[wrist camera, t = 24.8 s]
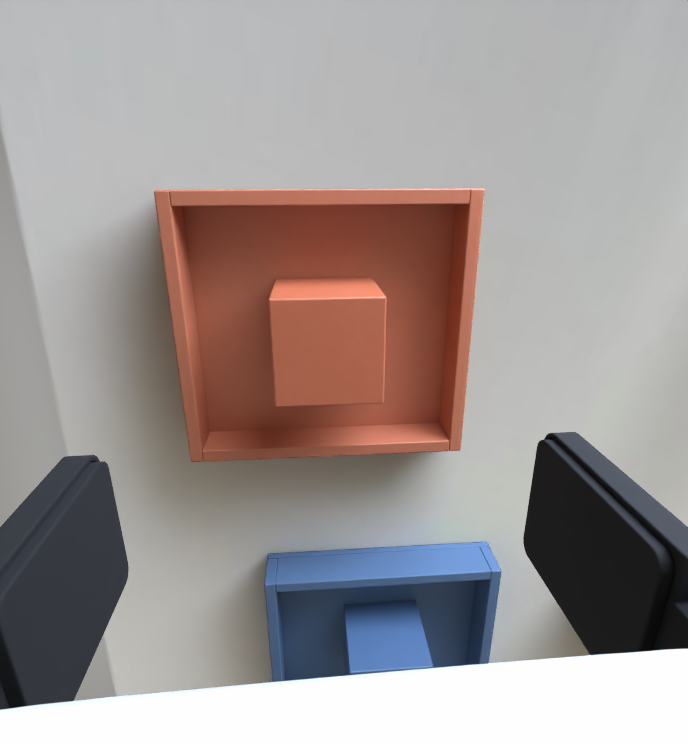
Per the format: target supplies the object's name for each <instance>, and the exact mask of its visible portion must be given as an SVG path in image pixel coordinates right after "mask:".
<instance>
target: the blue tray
mask: <svg viewBox="0 0 688 744" xmlns="http://www.w3.org/2000/svg"><path fill="white" fill-rule="evenodd" d="M500 578H501V569H500V567H499V565H498V563H497V561H496V559H495V557H494V555H493V553H492V551H491V549H490V547H489V545H488V543H487V542H474V543H456V544H438V545H420V546H402V547H384V548H366V549H348V550H330V551H312V552H294V553H276V554H268V556H267V566H266V575H265V584H264V586H265V598H266V610H267V622H268V634H269V646H270V658H271V670H272V682H279V681H291V680H302V679H313V678H325V677H336V676H346V675H345V663H344V605H345V604H359V603H375V602H391V601H407V600H416V603H417V607H418V610H419V614H420V618H421V622H422V626H423V629H424V633H425V637H426V641H427V644H428V648H429V652H430V656H431V659H432V663H433V668H440V667H451V666H463V665H475V664H488V662H489V655H490V648H491V641H492V634H493V627H494V620H495V613H496V606H497V599H498V592H499V585H500Z"/></svg>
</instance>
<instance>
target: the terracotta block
mask: <svg viewBox="0 0 688 744" xmlns="http://www.w3.org/2000/svg"><path fill="white" fill-rule="evenodd" d="M386 301H387V298H386V296H385V295H384V294H383V292H382V291H381V289H380V288H379V287H378V285H377V284H376V283H375V281H374V280H373V279H372V277H339V278H284V279H276V280H275V283H274V286H273V289H272V292H271V294H270V297H269V300H268V305H269V321H270V337H271V353H272V369H273V385H274V401H275V406H276V407H296V406H323V405H351V404H379V403H383V402H384V377H385V339H386Z"/></svg>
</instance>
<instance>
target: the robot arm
mask: <svg viewBox="0 0 688 744" xmlns="http://www.w3.org/2000/svg"><path fill="white" fill-rule="evenodd" d="M524 548H525V551H526V554H527V556H528V557H529V559H530V561H531V562H532V564H533V565H534V567H535V569H536V570H537V572H538V573H539V575H540V576H541V578H542V580H543V581H544V583H545V584H546V586H547V587H548V589H549V591H550V592H551V594H552V595H553V597H554V598H555V600H556V602H557V603H558V605H559V606H560V608H561V609H562V611H563V613H564V614H565V616H566V617H567V619H568V620H569V622H570V624H571V625H572V627H573V628H574V630H575V632H576V633H577V635H578V636H579V638H580V639H581V641H582V643H583V644H584V646H585V647H586V649H587V650H588V652H589V654H590V655H587V656H574V657H562V658H550V659H537V660H525V661H512V662H500V663H488V664H475V665H463V666H451V667H440V668H428V669H416V670H405V671H393V672H381V673H370V674H359V675H347V676H336V677H325V678H313V679H302V680H291V681H279V682H268V683H258V684H247V685H236V686H225V687H215V688H204V689H193V690H183V691H172V692H161V693H150V694H140V695H129V696H118V697H108V698H99V699H89V700H79V701H74V698H75V696H76V694H77V692H78V689H79V687H80V685H81V683H82V681H83V678H84V676H85V674H86V672H87V669H88V667H89V665H90V662H91V661H92V658H93V656H94V654H95V652H96V649H97V647H98V645H99V643H100V640H101V638H102V636H103V634H104V631H105V629H106V627H107V625H108V622H109V620H110V618H111V616H112V613H113V611H114V609H115V607H116V605H117V602H118V600H119V598H120V596H121V593H122V591H123V589H124V587H125V584H126V582H127V578H128V561H127V556H126V551H125V546H124V541H123V536H122V531H121V526H120V521H119V516H118V511H117V506H116V501H115V497H114V492H113V487H112V482H111V477H110V472H109V467H108V465H107V463H106V462H100V461H99V459H98V457H97V456H95V455H88V456H68V457H64V458H63V459H61V460H60V462H59V463H58V464H57V465H56V466H55V468H54V469H52V470H51V472H50V473H49V474H48V475H47V476H46V477H45V478H44V479H43V481H42V482H41V483H40V484H39V485H38V486H37V487H36V488H35V489H34V490H33V492H32V493H31V494H30V495H29V496H28V497H27V498H26V499H25V501H24V502H23V503H22V504H21V505H20V506H19V507H18V508H17V509H16V510H15V512H14V513H13V514H12V515H11V516H10V517H9V518H8V519H7V521H6V522H5V523H4V524H3V525H2V526H1V527H0V744H688V527H687V526H686V525H685V524H683V523H682V522H681V521H680V520H679V519H678V518H676V517H675V516H674V515H673V514H672V513H671V512H669V511H668V510H667V509H666V508H665V507H663V506H662V505H661V504H660V503H659V502H658V501H656V500H655V499H654V498H653V497H652V496H651V495H649V494H648V493H647V492H646V491H645V490H644V489H642V488H641V487H640V486H639V485H638V484H636V483H635V482H634V481H633V480H632V479H631V478H629V477H628V476H627V475H626V474H625V473H624V472H622V471H621V470H620V469H619V468H618V467H617V466H615V465H614V464H613V463H612V462H611V461H609V460H608V459H607V458H606V457H605V456H604V455H602V454H601V453H600V452H599V451H598V450H597V449H595V448H594V447H593V446H592V445H591V444H590V443H588V442H587V441H586V440H585V439H584V438H582V437H581V436H580V435H579V434H577V433H576V432H566V433H549V434H548V435H546V437H545V439H544V440H541V441H539V443H538V446H537V452H536V459H535V465H534V472H533V479H532V485H531V492H530V499H529V505H528V512H527V519H526V525H525V532H524Z"/></svg>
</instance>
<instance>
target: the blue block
mask: <svg viewBox="0 0 688 744" xmlns="http://www.w3.org/2000/svg"><path fill="white" fill-rule="evenodd" d="M344 663H345V675H346V676H347V675H359V674H370V673H381V672H393V671H405V670H416V669H428V668H433V663H432V659H431V656H430V652H429V648H428V644H427V641H426V637H425V633H424V629H423V626H422V622H421V618H420V614H419V610H418V607H417V603H416V600H407V601H391V602H375V603H359V604H345V605H344Z"/></svg>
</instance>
